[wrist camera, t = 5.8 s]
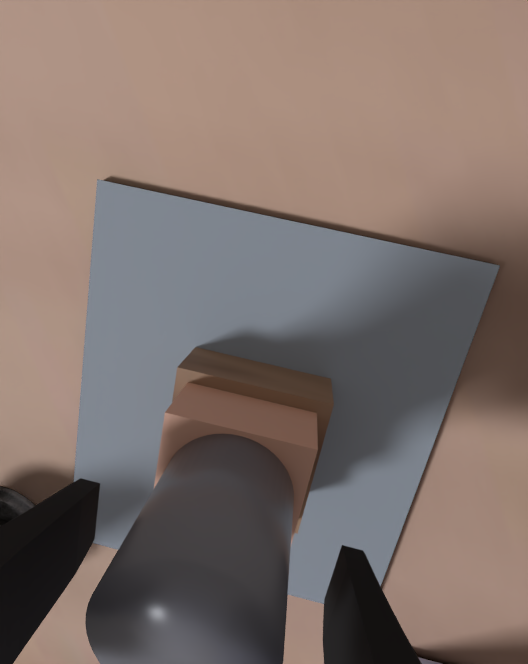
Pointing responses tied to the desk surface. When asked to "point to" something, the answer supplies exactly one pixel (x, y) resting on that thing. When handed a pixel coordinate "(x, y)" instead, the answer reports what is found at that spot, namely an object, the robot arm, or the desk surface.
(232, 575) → the dark grey cylinder
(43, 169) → the desk surface
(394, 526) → the mat
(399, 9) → the desk surface
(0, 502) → the salt shaker
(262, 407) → the tower middle
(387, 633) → the robot arm
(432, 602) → the desk surface
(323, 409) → the tower base
